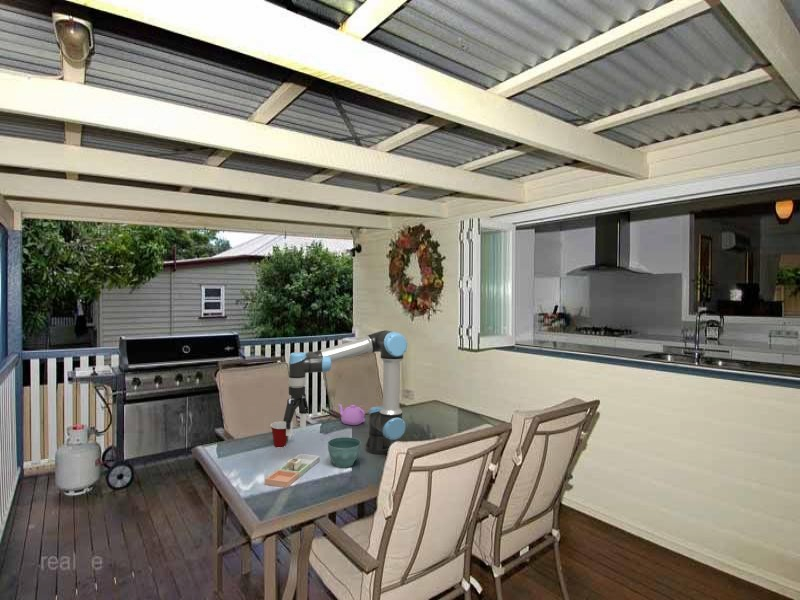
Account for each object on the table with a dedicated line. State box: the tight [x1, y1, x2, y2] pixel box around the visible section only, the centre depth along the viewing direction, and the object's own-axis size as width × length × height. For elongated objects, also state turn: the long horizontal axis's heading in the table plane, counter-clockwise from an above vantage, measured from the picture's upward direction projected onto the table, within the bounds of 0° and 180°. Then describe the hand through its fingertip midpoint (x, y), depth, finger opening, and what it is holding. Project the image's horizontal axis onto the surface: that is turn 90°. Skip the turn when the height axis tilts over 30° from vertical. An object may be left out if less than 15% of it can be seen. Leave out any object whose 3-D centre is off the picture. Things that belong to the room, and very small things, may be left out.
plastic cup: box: [270, 421, 289, 448], centre depth 245 cm, size 11×11×12 cm
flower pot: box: [327, 436, 362, 468], centre depth 222 cm, size 16×16×11 cm
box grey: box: [294, 453, 321, 470], centre depth 221 cm, size 11×11×2 cm
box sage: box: [277, 463, 311, 479], centre depth 211 cm, size 11×11×2 cm
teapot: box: [337, 403, 366, 426], centre depth 292 cm, size 20×13×12 cm, turn 68°
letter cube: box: [286, 457, 302, 472], centre depth 210 cm, size 5×5×5 cm
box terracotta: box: [264, 469, 300, 489], centre depth 200 cm, size 11×11×2 cm
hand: (296, 431), depth 211 cm, fingers open, 13 cm apart
